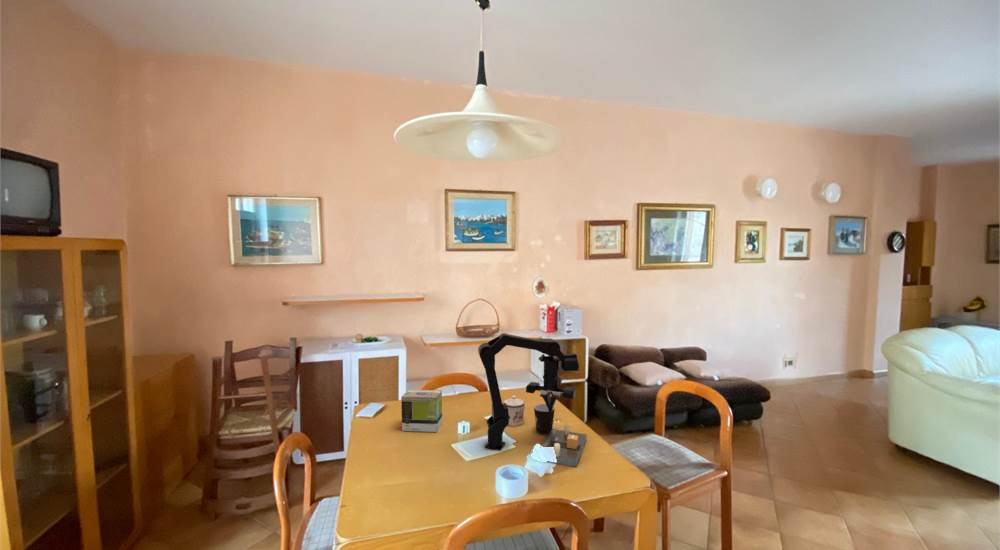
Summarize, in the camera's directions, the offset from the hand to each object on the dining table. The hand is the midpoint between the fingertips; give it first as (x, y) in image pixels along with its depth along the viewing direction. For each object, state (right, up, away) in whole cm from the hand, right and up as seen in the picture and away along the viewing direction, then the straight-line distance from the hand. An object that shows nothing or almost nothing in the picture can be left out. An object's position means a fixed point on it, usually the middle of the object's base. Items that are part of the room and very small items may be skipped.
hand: (550, 411), depth 161 cm
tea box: (-53, -12, +15) cm, 56 cm away
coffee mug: (-1, -12, +12) cm, 17 cm away
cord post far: (+6, -10, +1) cm, 12 cm away
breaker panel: (+4, -13, -5) cm, 14 cm away
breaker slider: (+7, -10, -8) cm, 15 cm away
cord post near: (0, -11, -15) cm, 18 cm away
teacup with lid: (-13, -11, +21) cm, 27 cm away
